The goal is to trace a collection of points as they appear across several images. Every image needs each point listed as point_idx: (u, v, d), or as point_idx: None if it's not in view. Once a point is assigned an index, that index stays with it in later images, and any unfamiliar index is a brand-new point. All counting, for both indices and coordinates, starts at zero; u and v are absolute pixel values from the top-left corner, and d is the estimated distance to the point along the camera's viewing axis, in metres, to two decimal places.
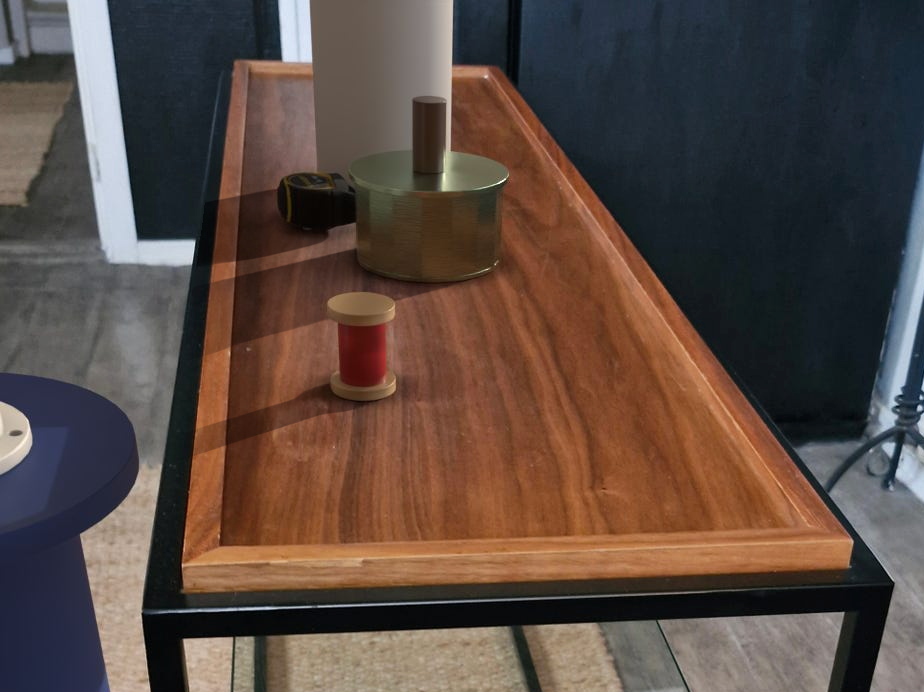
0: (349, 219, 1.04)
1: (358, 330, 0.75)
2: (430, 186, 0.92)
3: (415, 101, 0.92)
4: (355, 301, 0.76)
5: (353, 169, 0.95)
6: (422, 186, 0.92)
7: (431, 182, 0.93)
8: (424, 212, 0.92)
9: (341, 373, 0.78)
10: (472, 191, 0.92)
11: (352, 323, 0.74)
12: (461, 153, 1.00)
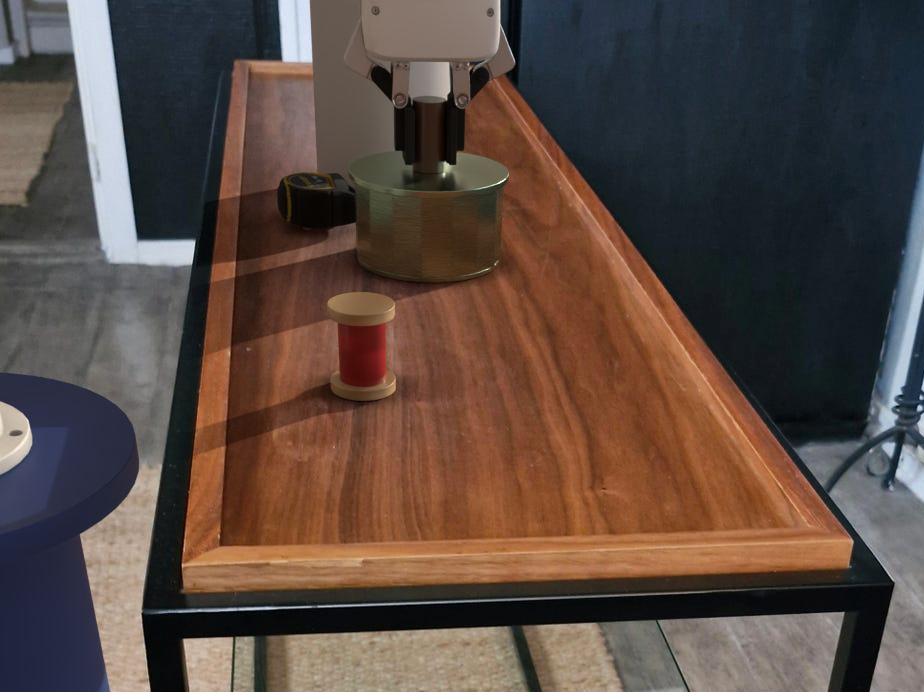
0: (349, 219, 1.04)
1: (358, 330, 0.75)
2: (430, 186, 0.92)
3: (415, 101, 0.92)
4: (355, 301, 0.76)
5: (353, 169, 0.95)
6: (422, 186, 0.92)
7: (431, 182, 0.93)
8: (424, 212, 0.92)
9: (341, 373, 0.78)
10: (472, 191, 0.92)
11: (352, 323, 0.74)
12: (461, 153, 1.00)
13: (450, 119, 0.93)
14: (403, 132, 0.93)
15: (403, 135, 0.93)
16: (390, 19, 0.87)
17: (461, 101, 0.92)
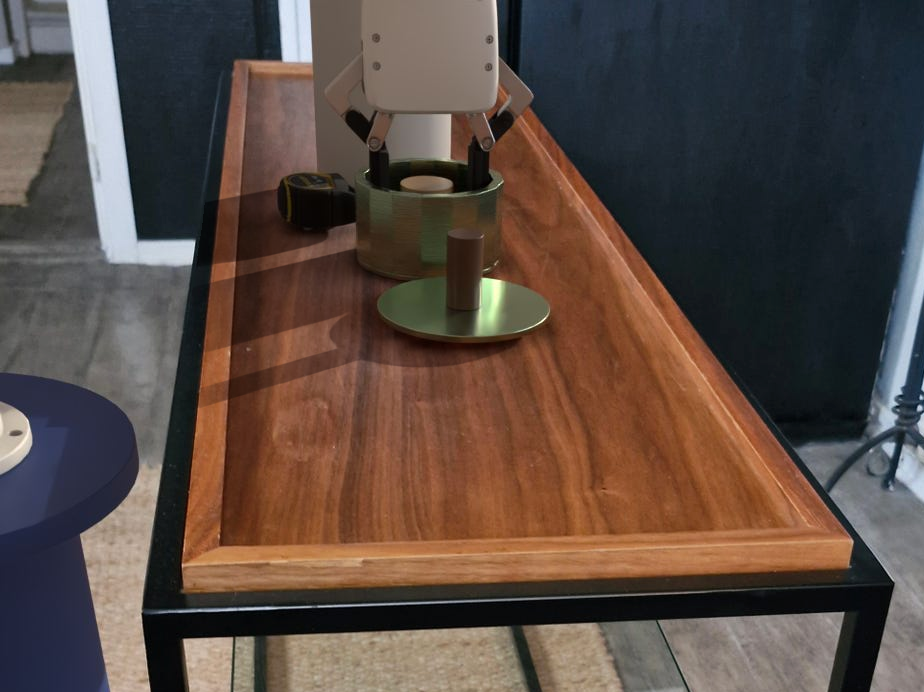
0: (349, 219, 1.04)
1: None
2: (466, 329, 0.85)
3: (450, 236, 0.85)
4: (422, 181, 0.97)
5: (382, 305, 0.88)
6: (458, 329, 0.85)
7: (467, 323, 0.86)
8: (424, 212, 0.92)
9: None
10: (512, 334, 0.85)
11: None
12: (497, 281, 0.93)
13: (475, 161, 0.95)
14: (378, 174, 0.95)
15: (378, 177, 0.95)
16: (391, 74, 0.89)
17: (487, 144, 0.94)
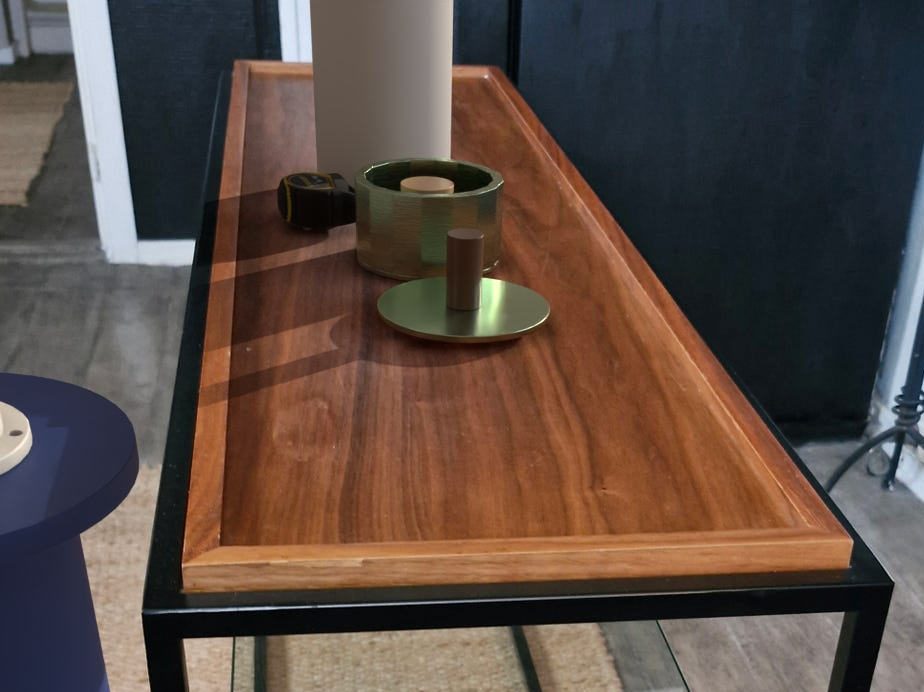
0: (349, 219, 1.04)
1: None
2: (466, 329, 0.85)
3: (450, 236, 0.85)
4: (422, 182, 0.97)
5: (382, 305, 0.88)
6: (458, 329, 0.85)
7: (467, 323, 0.86)
8: (424, 212, 0.92)
9: None
10: (512, 334, 0.85)
11: None
12: (497, 281, 0.93)
13: None
14: None
15: None
16: None
17: None
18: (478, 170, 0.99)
